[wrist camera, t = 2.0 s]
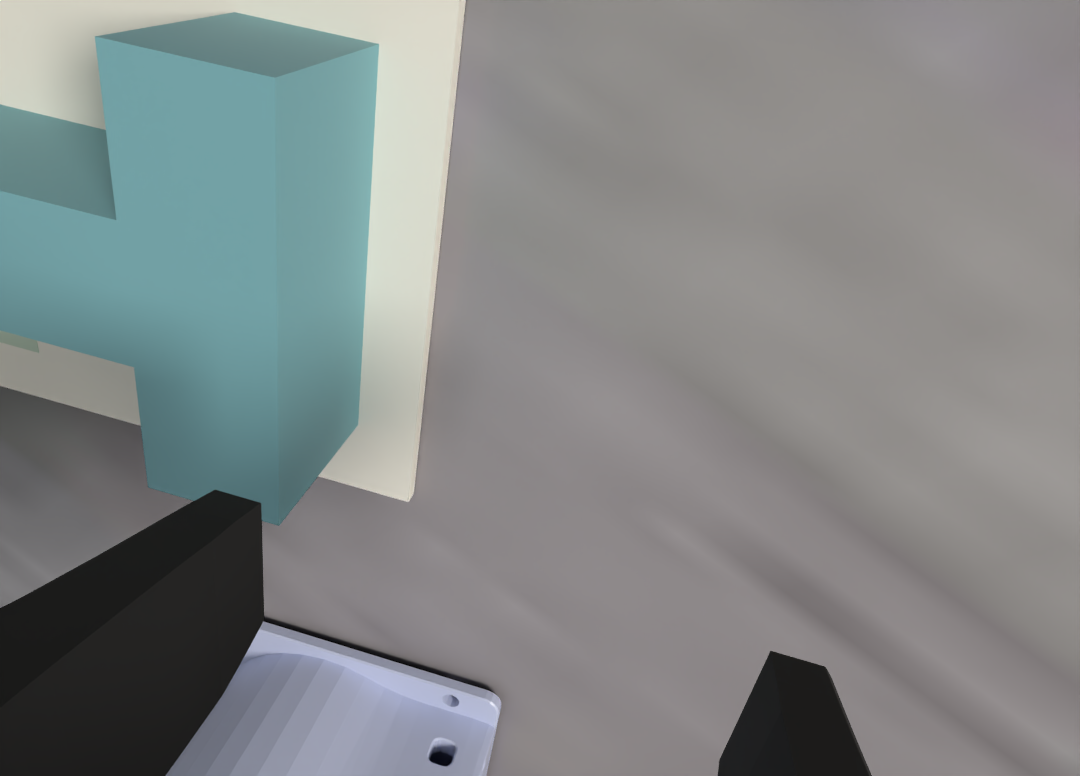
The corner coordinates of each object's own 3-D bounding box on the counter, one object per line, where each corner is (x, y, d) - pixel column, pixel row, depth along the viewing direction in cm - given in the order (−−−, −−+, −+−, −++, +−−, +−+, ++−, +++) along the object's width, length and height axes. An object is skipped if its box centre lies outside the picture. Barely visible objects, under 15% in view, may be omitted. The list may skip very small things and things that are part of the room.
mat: (472, -59, 15) (465, -58, 14) (414, 492, 21) (408, 502, 21) (-507, -259, 17) (-533, -263, 17) (-278, 297, 24) (-294, 302, 23)
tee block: (378, 44, 16) (274, 78, 12) (358, 424, 20) (278, 525, 17) (-37, -49, 16) (-240, -41, 13) (35, 336, 21) (-100, 414, 18)
